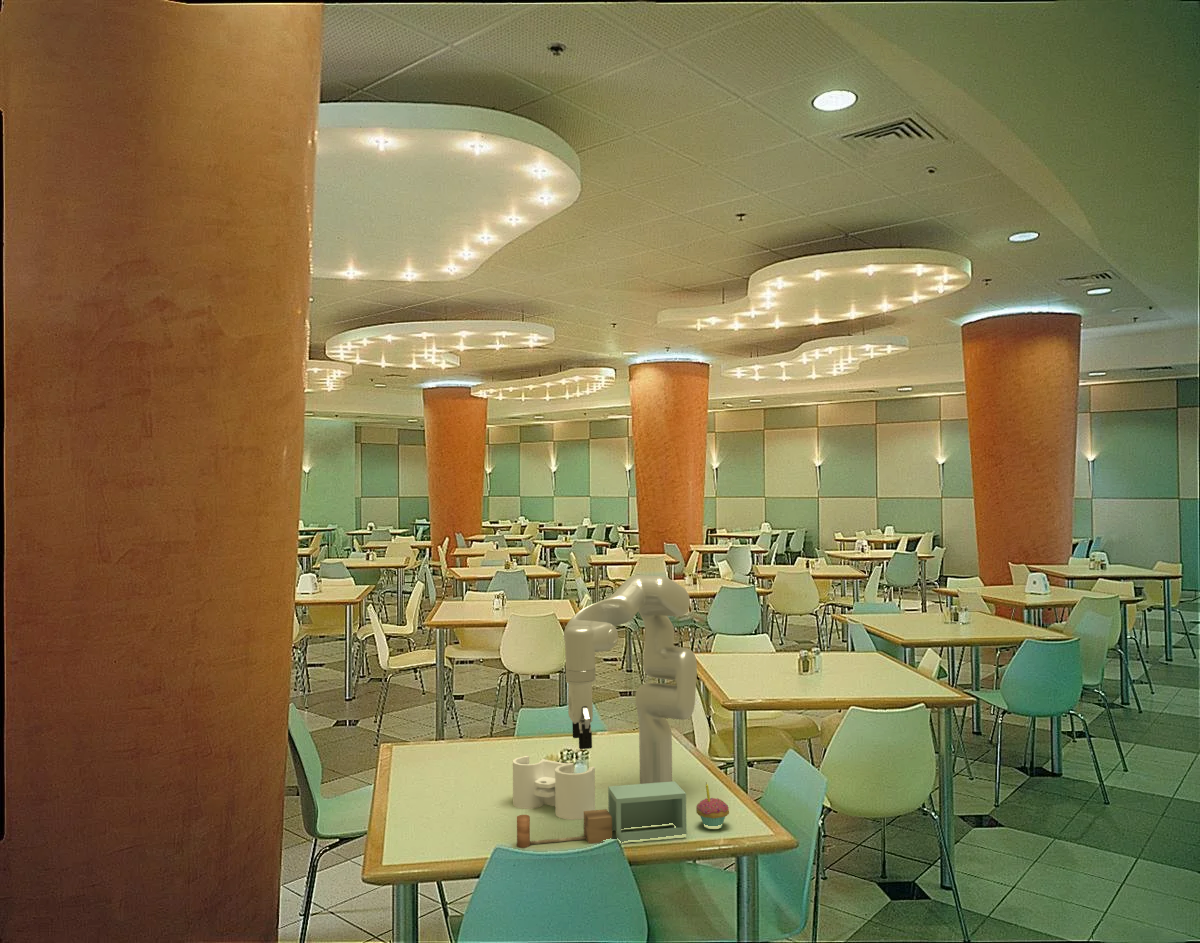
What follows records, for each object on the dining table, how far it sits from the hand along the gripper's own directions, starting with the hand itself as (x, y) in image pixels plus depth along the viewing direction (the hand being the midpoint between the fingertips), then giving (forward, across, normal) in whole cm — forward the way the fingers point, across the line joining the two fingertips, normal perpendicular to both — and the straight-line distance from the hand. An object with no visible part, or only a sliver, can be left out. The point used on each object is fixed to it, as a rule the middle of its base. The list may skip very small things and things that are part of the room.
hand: (582, 742), depth 228 cm
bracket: (+25, -24, -5) cm, 35 cm away
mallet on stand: (+24, +1, -5) cm, 25 cm away
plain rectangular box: (+24, 0, +16) cm, 29 cm away
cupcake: (+25, -1, +34) cm, 42 cm away
